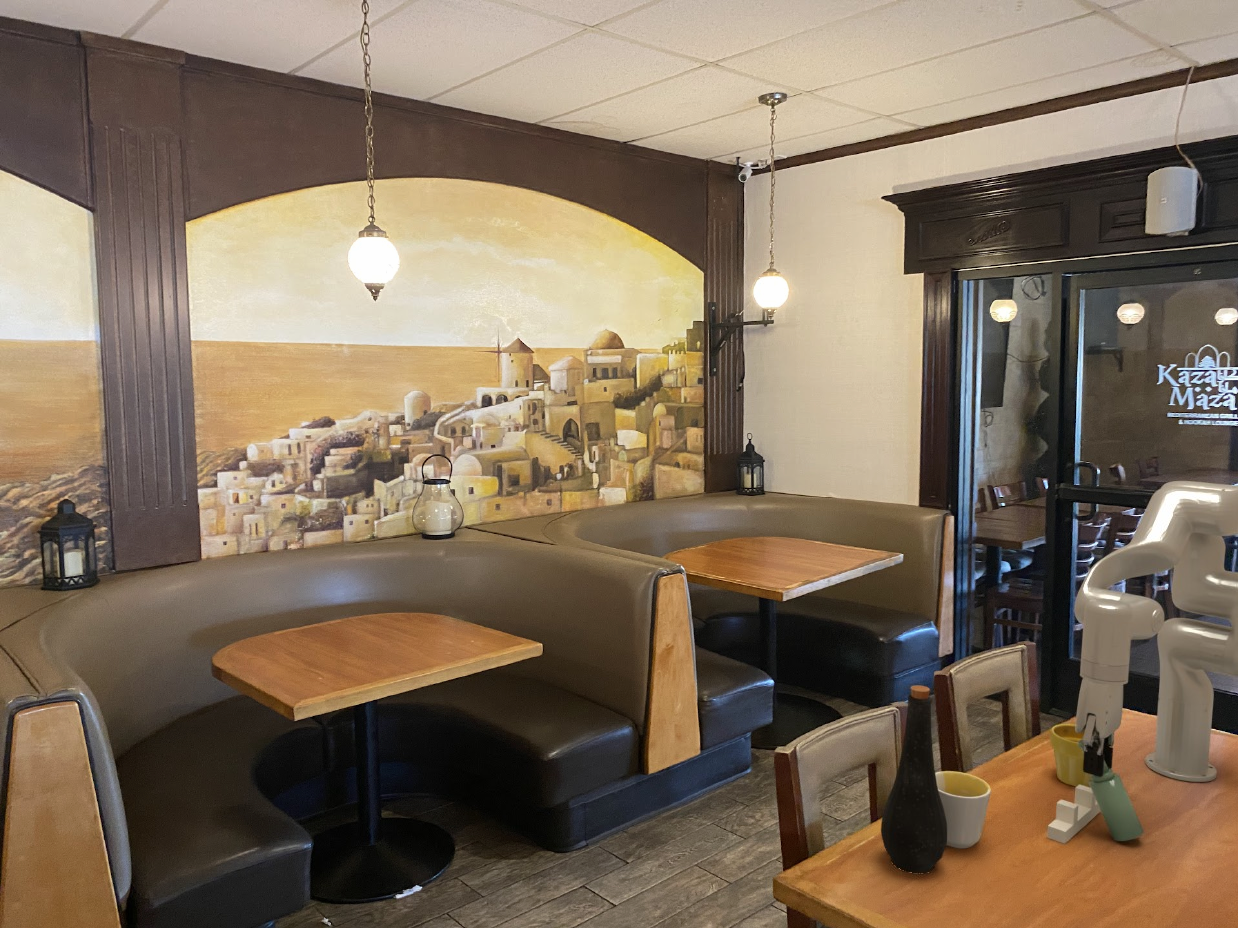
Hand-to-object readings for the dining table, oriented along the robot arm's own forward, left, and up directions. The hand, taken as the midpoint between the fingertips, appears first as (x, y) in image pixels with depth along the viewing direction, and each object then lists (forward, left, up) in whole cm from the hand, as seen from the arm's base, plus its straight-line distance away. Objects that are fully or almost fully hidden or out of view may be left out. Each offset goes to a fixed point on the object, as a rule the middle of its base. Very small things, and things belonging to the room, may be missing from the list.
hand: (1097, 769), depth 166 cm
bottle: (+34, -17, -12) cm, 39 cm away
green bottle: (-1, +6, -10) cm, 12 cm away
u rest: (0, -3, -11) cm, 12 cm away
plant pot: (-19, -10, -12) cm, 25 cm away
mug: (+20, -15, -12) cm, 27 cm away
